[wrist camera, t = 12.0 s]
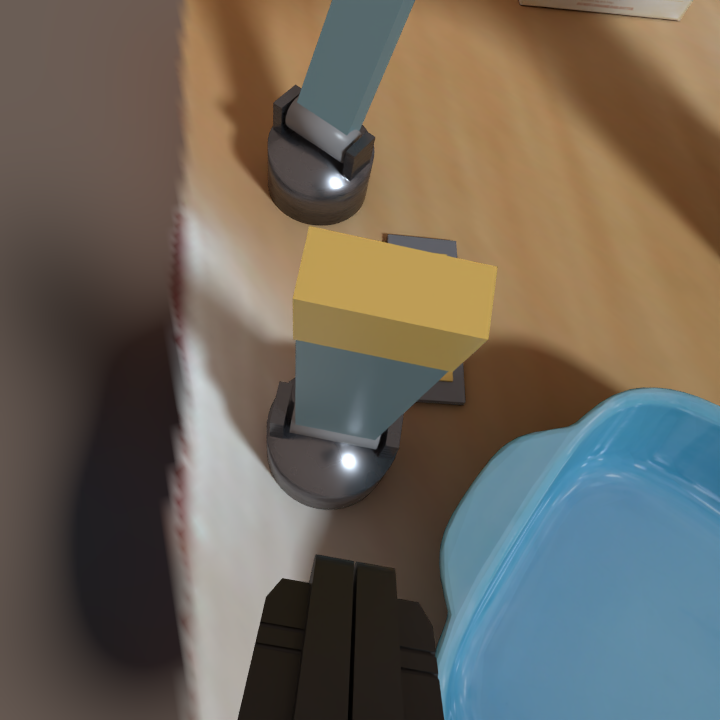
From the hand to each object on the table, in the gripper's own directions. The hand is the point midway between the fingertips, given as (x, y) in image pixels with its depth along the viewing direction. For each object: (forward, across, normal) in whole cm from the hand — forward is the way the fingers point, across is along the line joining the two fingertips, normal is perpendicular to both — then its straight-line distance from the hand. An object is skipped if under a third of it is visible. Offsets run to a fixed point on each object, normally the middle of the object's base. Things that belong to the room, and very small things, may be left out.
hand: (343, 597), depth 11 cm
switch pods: (+25, +2, +1) cm, 25 cm away
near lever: (+16, 0, +4) cm, 16 cm away
